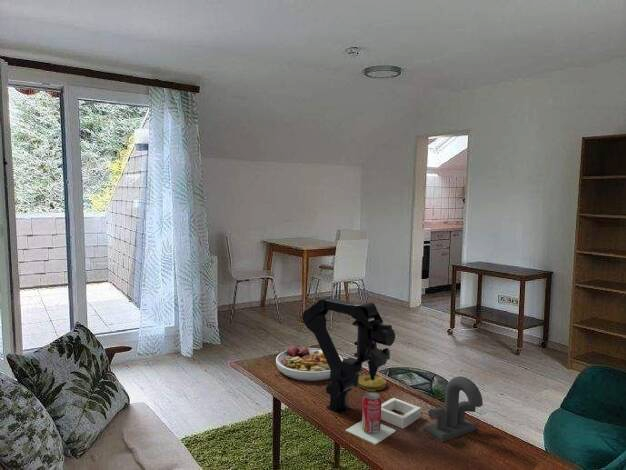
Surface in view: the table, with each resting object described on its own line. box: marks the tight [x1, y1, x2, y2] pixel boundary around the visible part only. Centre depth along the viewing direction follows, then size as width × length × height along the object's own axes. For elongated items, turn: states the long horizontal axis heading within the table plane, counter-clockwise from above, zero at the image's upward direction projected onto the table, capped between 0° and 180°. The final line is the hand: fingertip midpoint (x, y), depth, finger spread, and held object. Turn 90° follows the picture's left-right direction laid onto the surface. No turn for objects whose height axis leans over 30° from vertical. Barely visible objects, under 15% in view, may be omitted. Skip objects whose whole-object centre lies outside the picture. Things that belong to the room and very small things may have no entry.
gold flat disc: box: [358, 374, 387, 392], centre depth 194 cm, size 12×12×2 cm
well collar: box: [381, 397, 422, 429], centre depth 167 cm, size 12×12×4 cm
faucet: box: [422, 376, 484, 443], centre depth 155 cm, size 18×16×20 cm
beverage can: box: [361, 391, 383, 433], centre depth 156 cm, size 6×6×12 cm
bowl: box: [275, 345, 344, 382], centre depth 209 cm, size 30×30×8 cm
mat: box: [345, 420, 397, 446], centre depth 156 cm, size 12×12×1 cm
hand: (364, 383), depth 163 cm, fingers open, 9 cm apart
